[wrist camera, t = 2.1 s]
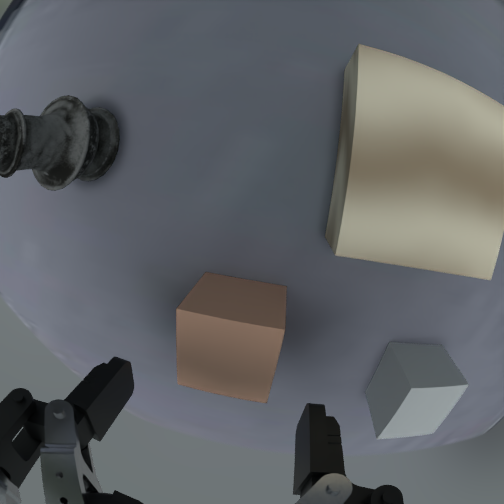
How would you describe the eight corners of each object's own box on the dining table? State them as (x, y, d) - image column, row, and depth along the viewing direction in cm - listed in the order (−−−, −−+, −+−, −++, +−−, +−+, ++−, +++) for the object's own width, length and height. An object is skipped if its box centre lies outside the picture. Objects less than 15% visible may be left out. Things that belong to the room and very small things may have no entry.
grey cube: (389, 341, 17) (411, 388, 12) (441, 344, 16) (468, 384, 11) (364, 391, 18) (376, 439, 13) (415, 391, 18) (432, 433, 13)
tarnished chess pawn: (85, 93, 14) (-53, 70, 3) (138, 121, 15) (-34, 94, 3) (54, 163, 16) (-77, 184, 5) (100, 200, 16) (-55, 247, 5)
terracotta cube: (206, 271, 17) (176, 308, 12) (286, 285, 16) (285, 329, 12) (201, 337, 18) (177, 384, 14) (272, 351, 18) (266, 403, 13)
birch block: (343, 71, 13) (358, 44, 9) (476, 118, 12) (512, 111, 8) (324, 235, 16) (335, 255, 12) (458, 259, 15) (490, 280, 11)
